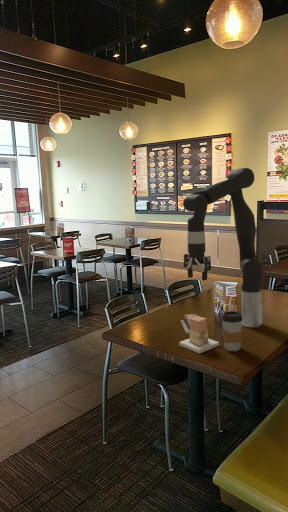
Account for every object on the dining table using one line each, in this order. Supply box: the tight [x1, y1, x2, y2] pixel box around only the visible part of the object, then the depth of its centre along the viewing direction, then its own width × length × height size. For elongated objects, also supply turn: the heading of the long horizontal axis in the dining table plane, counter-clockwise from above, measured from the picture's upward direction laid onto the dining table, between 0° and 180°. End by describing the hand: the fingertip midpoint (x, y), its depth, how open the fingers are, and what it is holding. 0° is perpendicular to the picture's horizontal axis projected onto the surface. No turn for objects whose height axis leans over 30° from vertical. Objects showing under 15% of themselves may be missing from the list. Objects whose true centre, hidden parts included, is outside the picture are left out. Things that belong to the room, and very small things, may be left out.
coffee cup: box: [221, 310, 243, 352], centre depth 157 cm, size 8×8×15 cm
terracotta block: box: [190, 315, 208, 333], centre depth 161 cm, size 5×5×5 cm
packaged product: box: [180, 313, 198, 335], centre depth 185 cm, size 18×5×10 cm
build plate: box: [178, 337, 220, 354], centre depth 163 cm, size 12×12×2 cm
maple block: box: [189, 329, 209, 345], centre depth 162 cm, size 6×6×6 cm
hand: (197, 278), depth 164 cm, fingers open, 8 cm apart
